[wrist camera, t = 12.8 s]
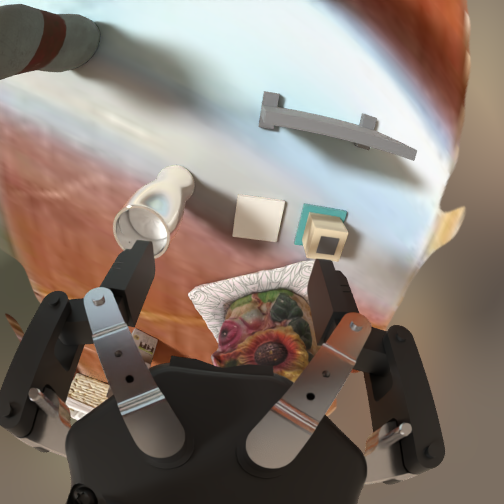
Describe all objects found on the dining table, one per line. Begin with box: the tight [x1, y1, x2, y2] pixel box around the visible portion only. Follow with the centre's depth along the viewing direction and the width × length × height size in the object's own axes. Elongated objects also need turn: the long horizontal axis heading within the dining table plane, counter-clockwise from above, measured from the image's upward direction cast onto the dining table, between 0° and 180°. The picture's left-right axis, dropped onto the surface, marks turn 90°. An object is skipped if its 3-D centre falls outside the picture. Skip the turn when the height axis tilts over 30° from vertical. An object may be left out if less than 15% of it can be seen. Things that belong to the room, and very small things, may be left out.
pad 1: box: [232, 194, 285, 242], centre depth 42 cm, size 7×7×1 cm
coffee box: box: [106, 329, 158, 398], centre depth 54 cm, size 9×6×16 cm
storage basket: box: [66, 373, 110, 420], centre depth 72 cm, size 24×16×15 cm
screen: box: [259, 91, 417, 161], centre depth 29 cm, size 5×16×13 cm, turn 82°
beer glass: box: [113, 165, 195, 259], centre depth 33 cm, size 7×7×15 cm
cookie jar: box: [188, 259, 321, 382], centre depth 41 cm, size 25×25×32 cm
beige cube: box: [302, 212, 348, 262], centre depth 41 cm, size 5×5×5 cm
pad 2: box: [294, 204, 347, 246], centre depth 43 cm, size 7×7×1 cm
